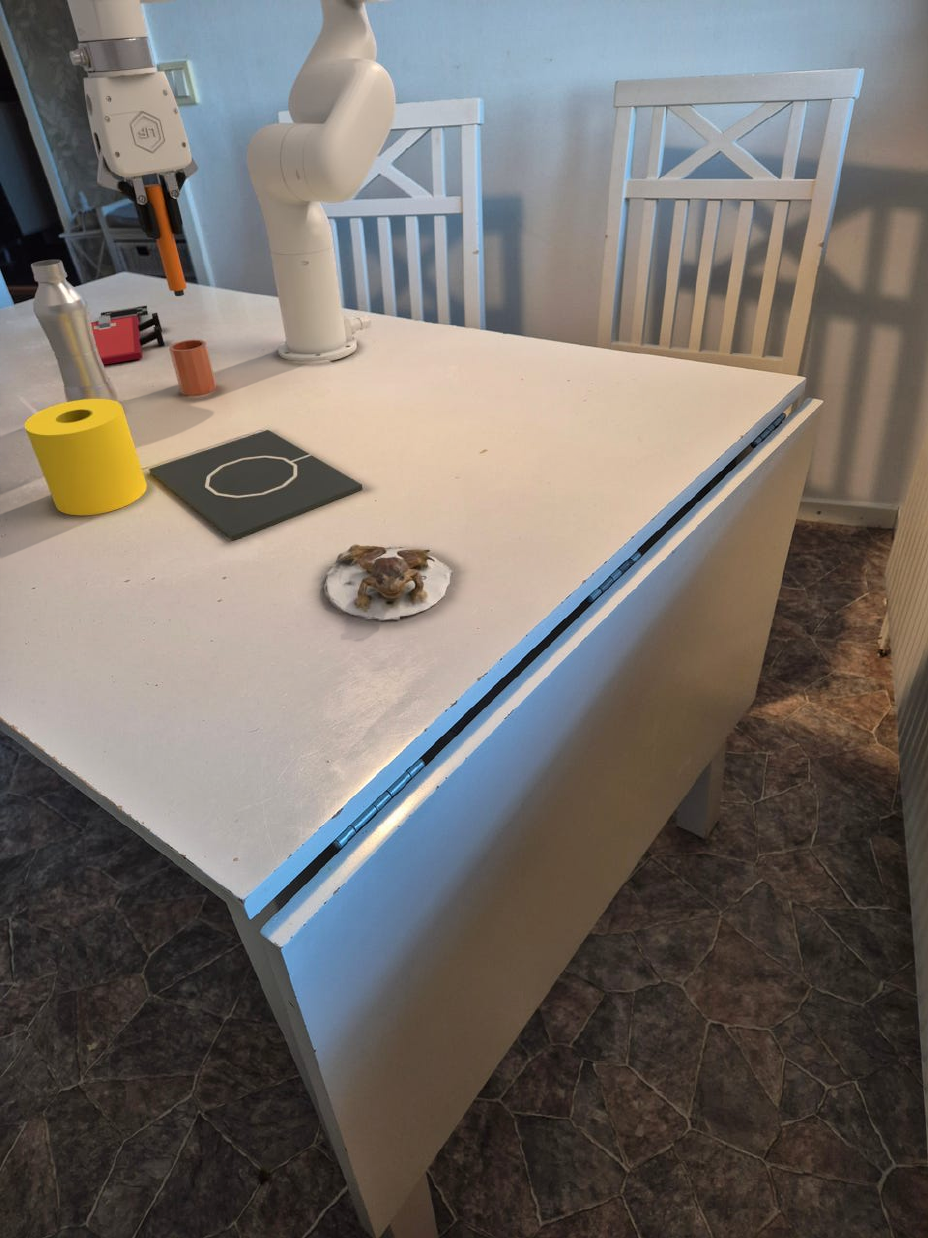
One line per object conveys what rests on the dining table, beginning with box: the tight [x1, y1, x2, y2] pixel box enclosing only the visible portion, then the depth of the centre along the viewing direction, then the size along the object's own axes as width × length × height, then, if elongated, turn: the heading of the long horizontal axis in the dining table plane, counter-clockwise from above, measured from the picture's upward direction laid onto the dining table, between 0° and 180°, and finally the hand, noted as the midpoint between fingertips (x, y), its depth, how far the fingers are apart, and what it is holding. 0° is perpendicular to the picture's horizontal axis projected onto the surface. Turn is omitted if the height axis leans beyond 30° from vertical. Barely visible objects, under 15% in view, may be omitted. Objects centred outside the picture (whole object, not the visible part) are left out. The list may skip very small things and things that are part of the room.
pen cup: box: [168, 339, 217, 397], centre depth 116 cm, size 5×5×7 cm
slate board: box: [148, 429, 364, 541], centre depth 94 cm, size 16×22×1 cm
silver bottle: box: [30, 259, 119, 403], centre depth 107 cm, size 6×7×20 cm
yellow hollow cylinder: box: [24, 399, 148, 517], centre depth 90 cm, size 10×10×9 cm
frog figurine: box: [323, 543, 453, 622], centre depth 74 cm, size 12×12×4 cm
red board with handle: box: [91, 305, 166, 366], centre depth 142 cm, size 30×3×15 cm
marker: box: [144, 183, 187, 297], centre depth 103 cm, size 2×2×13 cm
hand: (164, 233), depth 103 cm, fingers closed on marker, 2 cm apart
